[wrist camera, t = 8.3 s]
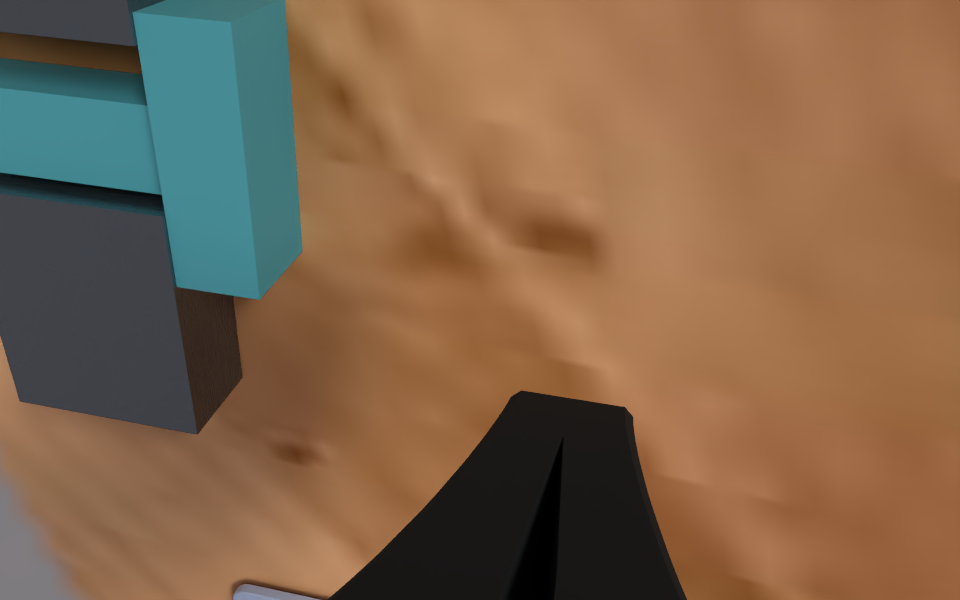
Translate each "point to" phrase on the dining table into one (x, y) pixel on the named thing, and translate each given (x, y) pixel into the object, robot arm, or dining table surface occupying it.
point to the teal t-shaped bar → (178, 135)
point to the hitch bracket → (104, 278)
